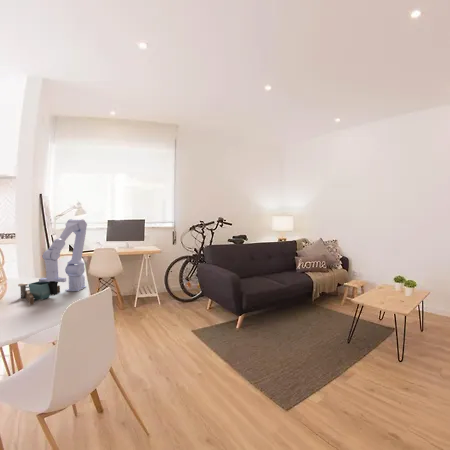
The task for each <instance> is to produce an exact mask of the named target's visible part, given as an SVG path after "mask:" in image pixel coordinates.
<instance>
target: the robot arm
mask: <svg viewBox="0 0 450 450" xmlns="http://www.w3.org/2000/svg"><path fill="white" fill-rule="evenodd" d="M87 227H88V223H87V222H86V221H85V219H81V218H80V219H74V218H73V219H72V218H71V219H68V220H67V221H66V223H65V228H64V229H63V231H62V232H61V234H60V236H59V238H55V239H54V240H53V242H52V244H51V245H50V246H49V247H48V249H47V250H45V251H43V254H42V259H43V260H44V263H45V273H46V274H45V275H46V276H45V277H41V278H38V281H39V282H50V283H48V285H49V288H50V296H52V295H54V296H56V295H57V294H58V293H57V286H58V284H59V283H66V282H67V278H66V277H59V265H58V260H59V258H60V257H61V252H62V250H63V248H64V247H65V246H66V240H68V238H69V237H70V235H71V234H72V233H73V234H75V238H74V244H73V248H72V249H73V250H72V254H71V259H70V260H69V261H68V262H67V265H66V266H65V269H64V271H65V272H64V273H66V275H67V276H68V288H67V289H66V290H65V292H79V291H81V290H83V289H85V288H87V286H86V280H85V279H86V278H85V276H84V273H85V271H86V270H85V269H86V268H85V262H83V261H82V258H83V252H84V246H85V240H86V233H87Z"/></svg>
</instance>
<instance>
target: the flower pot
mask: <svg viewBox="0 0 450 450" xmlns="http://www.w3.org/2000/svg"><path fill="white" fill-rule="evenodd" d="M48 283H50V282H39V280H38V281H35V282H31V283H28V287H29V288H28V289H29V290H30V293H31V294H32V295H33V297H34V300H41V301H42V300H45V299H48V298H49V297H50V296H51V295H50V288H49V285H48Z"/></svg>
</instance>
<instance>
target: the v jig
mask: <svg viewBox="0 0 450 450" xmlns="http://www.w3.org/2000/svg"><path fill="white" fill-rule="evenodd" d="M17 286H18V287H20V298H21V299H26V300H27V302H28V303H29V305H30V306H31V305H35V299H34V297H33V295H32V294H31V293H30V290H28V289H29V283H28V282H22V283H18V284H17ZM60 292H61V285H58V284H57V294H58V293H59V294H60Z"/></svg>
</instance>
